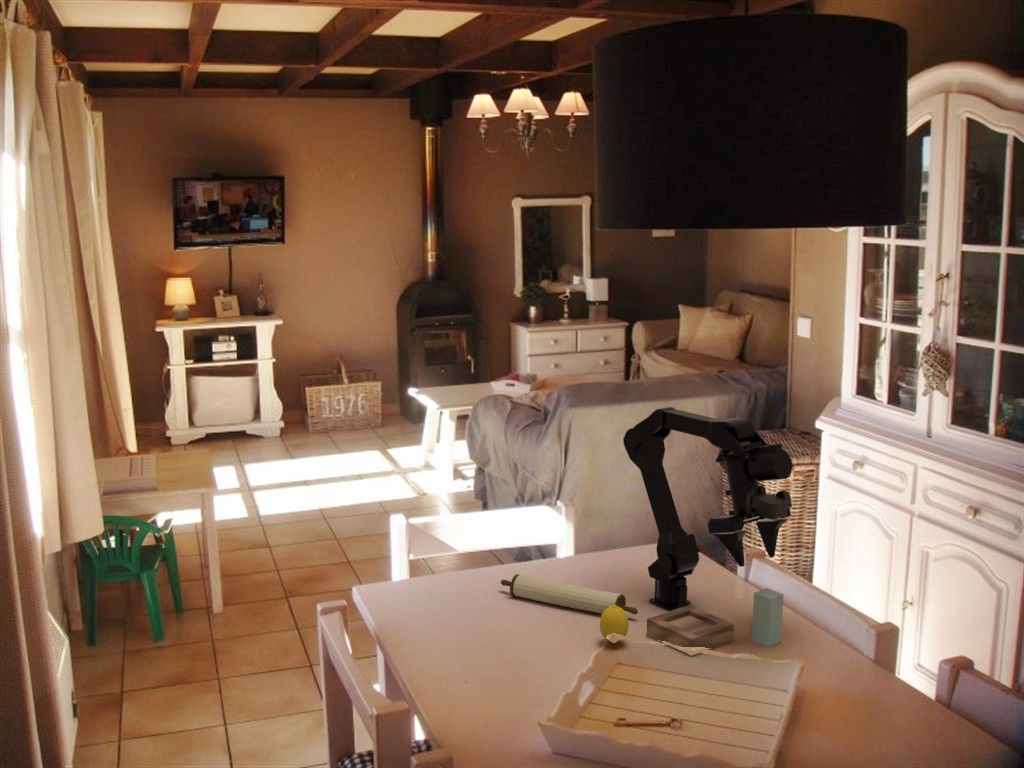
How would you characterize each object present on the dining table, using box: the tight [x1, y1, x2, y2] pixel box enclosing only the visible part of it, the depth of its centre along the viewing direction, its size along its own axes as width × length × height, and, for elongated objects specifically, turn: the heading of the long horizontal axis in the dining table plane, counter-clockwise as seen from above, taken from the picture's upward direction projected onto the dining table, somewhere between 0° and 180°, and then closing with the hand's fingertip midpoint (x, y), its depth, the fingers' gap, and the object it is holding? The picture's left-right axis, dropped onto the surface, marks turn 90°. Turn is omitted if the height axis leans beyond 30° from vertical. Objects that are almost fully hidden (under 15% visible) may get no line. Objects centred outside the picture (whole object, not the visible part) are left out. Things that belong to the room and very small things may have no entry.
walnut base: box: [646, 604, 735, 650], centre depth 205 cm, size 12×12×4 cm
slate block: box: [750, 587, 785, 648], centre depth 203 cm, size 4×4×10 cm
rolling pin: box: [500, 573, 639, 615], centre depth 221 cm, size 32×6×5 cm, turn 62°
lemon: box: [599, 605, 630, 640], centre depth 202 cm, size 6×6×8 cm
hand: (757, 561), depth 203 cm, fingers open, 9 cm apart
